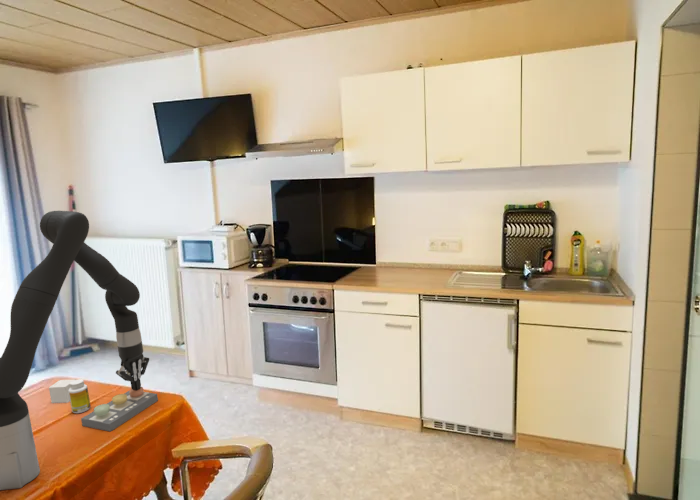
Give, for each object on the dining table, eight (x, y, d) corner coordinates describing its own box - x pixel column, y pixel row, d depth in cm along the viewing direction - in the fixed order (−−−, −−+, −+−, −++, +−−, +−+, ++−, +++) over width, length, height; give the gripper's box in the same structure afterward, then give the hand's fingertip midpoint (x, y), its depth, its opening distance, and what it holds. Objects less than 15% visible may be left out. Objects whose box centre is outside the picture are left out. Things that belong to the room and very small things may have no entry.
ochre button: (119, 405, 152) (119, 401, 152) (109, 403, 154) (108, 399, 154) (130, 399, 156) (129, 394, 156) (120, 397, 158) (119, 393, 158)
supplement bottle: (92, 409, 159) (87, 381, 157) (73, 415, 155) (68, 387, 154) (89, 404, 163) (84, 376, 161) (70, 409, 160) (65, 381, 158)
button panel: (110, 431, 144) (109, 423, 144) (82, 425, 149) (80, 417, 148) (157, 400, 163) (157, 393, 162) (131, 396, 167) (130, 389, 167)
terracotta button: (136, 397, 159) (136, 393, 159) (126, 396, 160) (126, 391, 160) (146, 391, 163) (145, 387, 163) (136, 390, 164) (136, 385, 164)
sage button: (101, 416, 146) (100, 411, 146) (91, 414, 147) (90, 409, 147) (113, 409, 150) (112, 404, 150) (103, 407, 152) (102, 403, 151)
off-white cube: (51, 403, 165) (48, 387, 164) (62, 395, 171) (59, 379, 170) (68, 402, 165) (65, 386, 164) (78, 394, 171) (75, 379, 170)
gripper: (122, 350, 151) (129, 400, 154) (152, 335, 163) (159, 382, 166) (105, 348, 154) (112, 397, 157) (136, 334, 166) (142, 379, 169)
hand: (136, 389), depth 162 cm, fingers closed
